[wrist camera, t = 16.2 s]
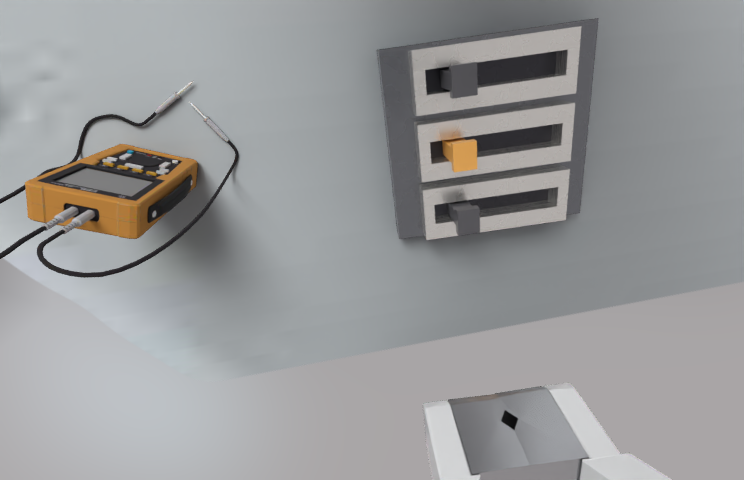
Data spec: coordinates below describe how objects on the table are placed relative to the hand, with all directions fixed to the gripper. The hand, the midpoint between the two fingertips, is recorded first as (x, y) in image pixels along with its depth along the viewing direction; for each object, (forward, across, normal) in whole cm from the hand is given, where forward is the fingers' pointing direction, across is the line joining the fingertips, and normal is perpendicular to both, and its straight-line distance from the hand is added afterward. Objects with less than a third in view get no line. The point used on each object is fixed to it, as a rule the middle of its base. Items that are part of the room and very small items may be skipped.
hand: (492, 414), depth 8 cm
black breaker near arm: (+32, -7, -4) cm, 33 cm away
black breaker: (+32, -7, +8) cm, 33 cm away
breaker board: (+34, -10, +2) cm, 36 cm away
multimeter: (+34, +20, -3) cm, 40 cm away
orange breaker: (+32, -7, +2) cm, 33 cm away
